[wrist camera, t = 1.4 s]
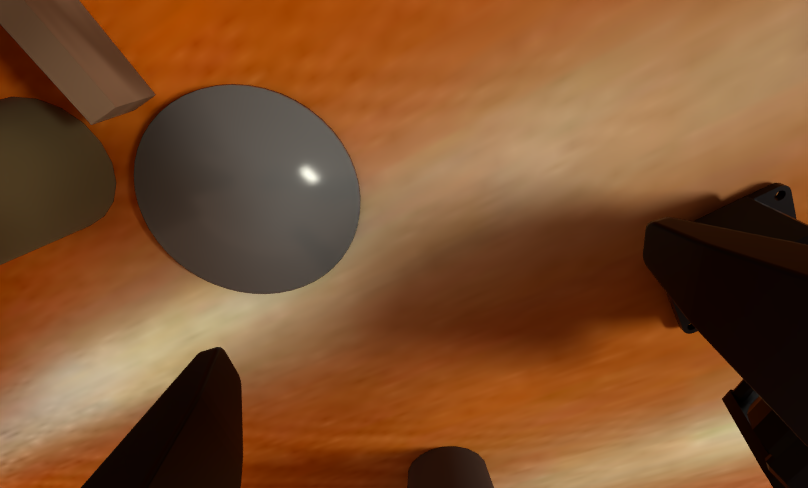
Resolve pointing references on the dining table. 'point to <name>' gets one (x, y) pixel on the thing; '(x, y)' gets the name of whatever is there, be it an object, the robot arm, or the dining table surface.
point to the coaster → (247, 188)
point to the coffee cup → (449, 470)
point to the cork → (48, 176)
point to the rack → (76, 56)
